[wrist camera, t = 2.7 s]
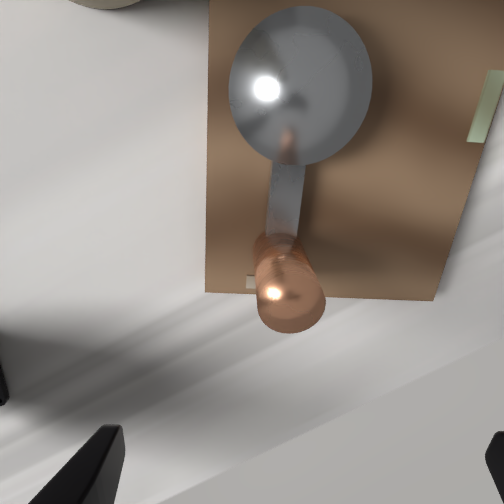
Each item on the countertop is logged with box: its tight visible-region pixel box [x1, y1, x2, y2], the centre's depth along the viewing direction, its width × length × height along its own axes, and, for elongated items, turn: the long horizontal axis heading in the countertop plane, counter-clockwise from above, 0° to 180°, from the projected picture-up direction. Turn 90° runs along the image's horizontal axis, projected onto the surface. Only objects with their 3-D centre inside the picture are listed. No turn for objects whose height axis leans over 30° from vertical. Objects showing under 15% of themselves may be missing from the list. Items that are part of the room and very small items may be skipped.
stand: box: [205, 0, 504, 301], centre depth 16 cm, size 21×14×3 cm, turn 176°
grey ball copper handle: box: [229, 6, 372, 333], centre depth 15 cm, size 12×6×6 cm, turn 176°
